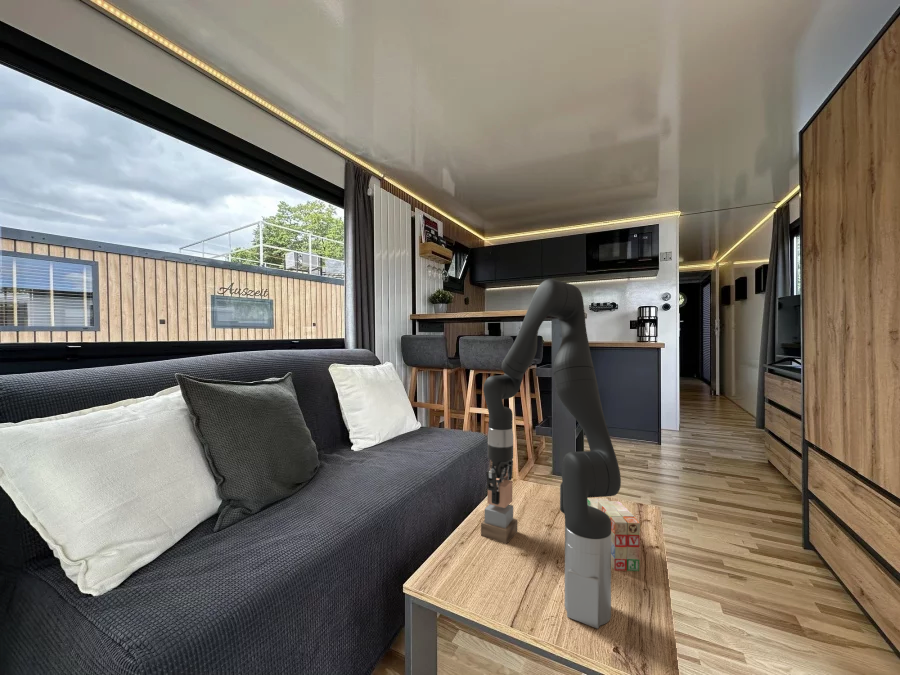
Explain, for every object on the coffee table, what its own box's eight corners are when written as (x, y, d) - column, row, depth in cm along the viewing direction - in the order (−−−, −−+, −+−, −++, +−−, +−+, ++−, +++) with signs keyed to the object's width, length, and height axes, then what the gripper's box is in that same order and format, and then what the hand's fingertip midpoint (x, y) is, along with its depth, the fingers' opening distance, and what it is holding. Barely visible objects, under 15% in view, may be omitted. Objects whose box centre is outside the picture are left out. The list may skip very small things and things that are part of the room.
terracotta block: (504, 508, 107) (504, 487, 107) (487, 503, 110) (487, 483, 110) (512, 501, 112) (512, 481, 112) (495, 497, 115) (495, 477, 115)
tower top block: (505, 528, 106) (505, 514, 106) (484, 522, 109) (484, 509, 109) (513, 519, 112) (513, 505, 112) (492, 513, 115) (493, 500, 115)
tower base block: (506, 545, 105) (506, 530, 105) (480, 536, 109) (481, 522, 109) (517, 532, 112) (517, 519, 112) (493, 525, 116) (493, 512, 116)
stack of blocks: (586, 528, 114) (586, 487, 114) (607, 528, 114) (607, 488, 114) (614, 571, 93) (614, 521, 93) (640, 572, 93) (640, 522, 93)
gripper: (501, 450, 103) (501, 512, 103) (521, 439, 115) (521, 494, 115) (477, 446, 107) (477, 505, 107) (499, 435, 119) (498, 489, 119)
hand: (500, 499), depth 111 cm, fingers closed on terracotta block, 5 cm apart
